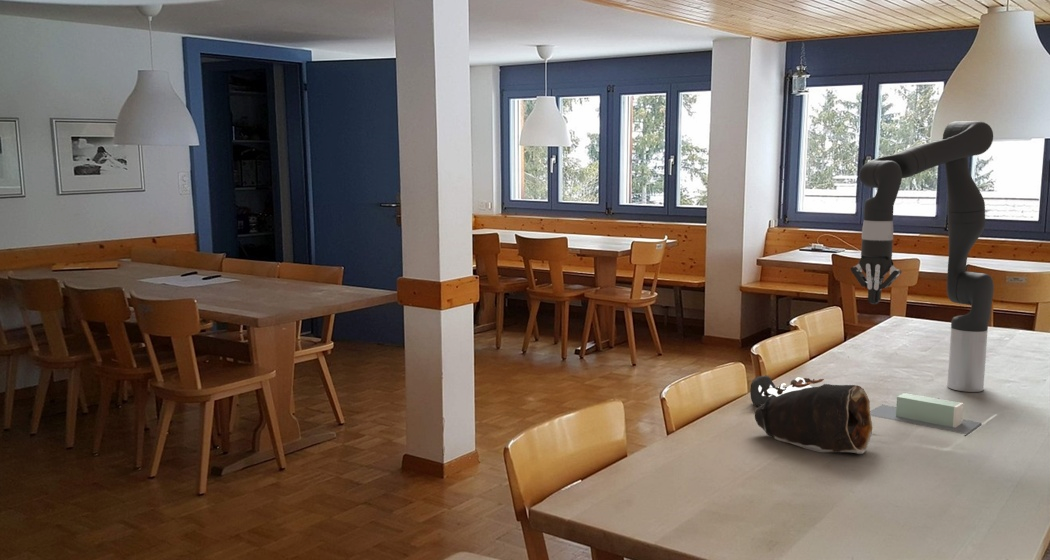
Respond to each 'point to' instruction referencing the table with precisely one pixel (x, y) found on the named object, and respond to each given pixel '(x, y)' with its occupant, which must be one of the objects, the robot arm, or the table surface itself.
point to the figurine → (775, 388)
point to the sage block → (929, 409)
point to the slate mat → (890, 413)
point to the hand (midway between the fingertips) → (873, 303)
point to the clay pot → (819, 418)
